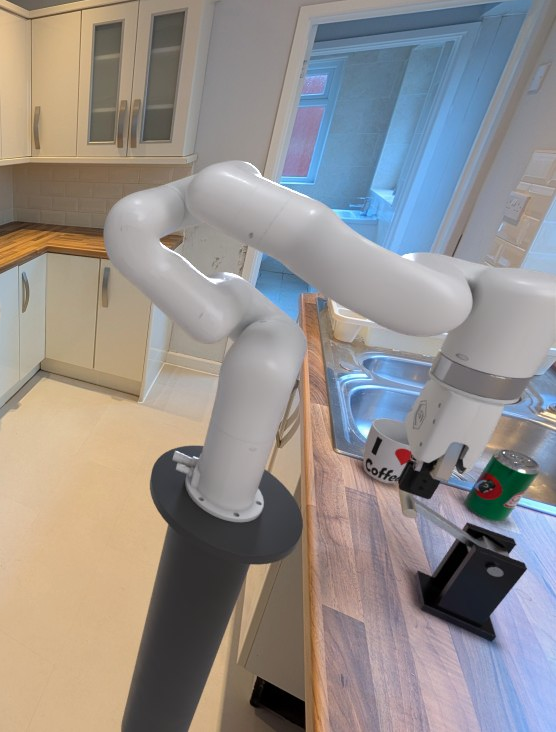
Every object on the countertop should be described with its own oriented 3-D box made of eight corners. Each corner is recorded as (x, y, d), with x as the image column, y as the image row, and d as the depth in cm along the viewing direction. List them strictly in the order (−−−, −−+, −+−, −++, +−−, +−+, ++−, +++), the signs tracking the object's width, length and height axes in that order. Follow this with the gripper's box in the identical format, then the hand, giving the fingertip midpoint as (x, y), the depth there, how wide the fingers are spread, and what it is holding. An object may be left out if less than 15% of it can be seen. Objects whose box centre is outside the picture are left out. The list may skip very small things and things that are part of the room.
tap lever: (396, 514, 56) (412, 505, 55) (391, 485, 61) (406, 476, 59) (498, 584, 52) (518, 577, 51) (485, 548, 57) (503, 540, 56)
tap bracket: (420, 609, 59) (462, 547, 53) (414, 575, 63) (452, 514, 58) (492, 642, 55) (545, 578, 50) (480, 603, 60) (527, 541, 54)
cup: (349, 471, 82) (367, 430, 78) (359, 452, 87) (377, 412, 83) (403, 497, 76) (427, 454, 72) (411, 474, 81) (433, 433, 77)
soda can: (502, 528, 70) (540, 474, 65) (460, 508, 74) (493, 455, 69) (507, 513, 73) (544, 460, 68) (466, 494, 77) (499, 443, 72)
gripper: (423, 341, 57) (373, 447, 64) (445, 394, 46) (381, 515, 53) (503, 357, 53) (440, 468, 61) (549, 420, 42) (464, 546, 49)
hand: (413, 490), depth 57 cm, fingers closed
